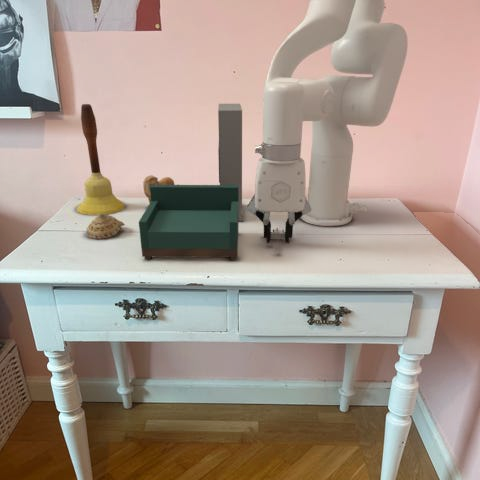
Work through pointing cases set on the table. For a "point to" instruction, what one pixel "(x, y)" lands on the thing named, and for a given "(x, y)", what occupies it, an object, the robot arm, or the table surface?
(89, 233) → the seashell
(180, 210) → the sofa
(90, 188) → the handbell
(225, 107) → the tall grey pillar
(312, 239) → the table surface
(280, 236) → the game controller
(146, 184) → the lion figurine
